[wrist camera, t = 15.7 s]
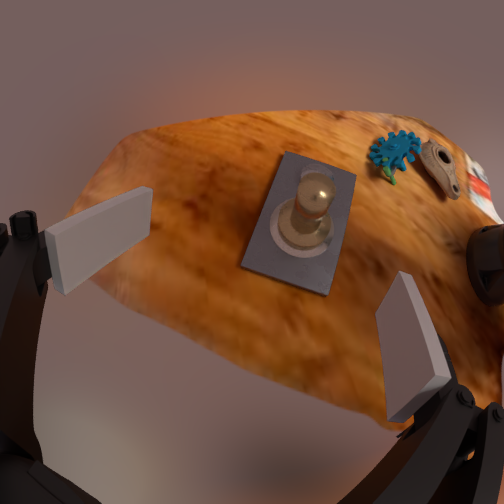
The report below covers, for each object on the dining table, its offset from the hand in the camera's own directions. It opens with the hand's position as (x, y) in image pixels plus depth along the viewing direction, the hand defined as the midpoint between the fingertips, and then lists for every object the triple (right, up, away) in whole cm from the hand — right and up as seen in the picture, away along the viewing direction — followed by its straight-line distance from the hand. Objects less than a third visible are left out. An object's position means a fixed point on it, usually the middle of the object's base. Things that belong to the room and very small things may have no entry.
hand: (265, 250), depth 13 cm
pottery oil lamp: (+34, +14, +29) cm, 47 cm away
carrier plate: (+7, +5, +26) cm, 27 cm away
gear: (+23, +16, +30) cm, 41 cm away
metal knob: (+6, +3, +24) cm, 25 cm away
